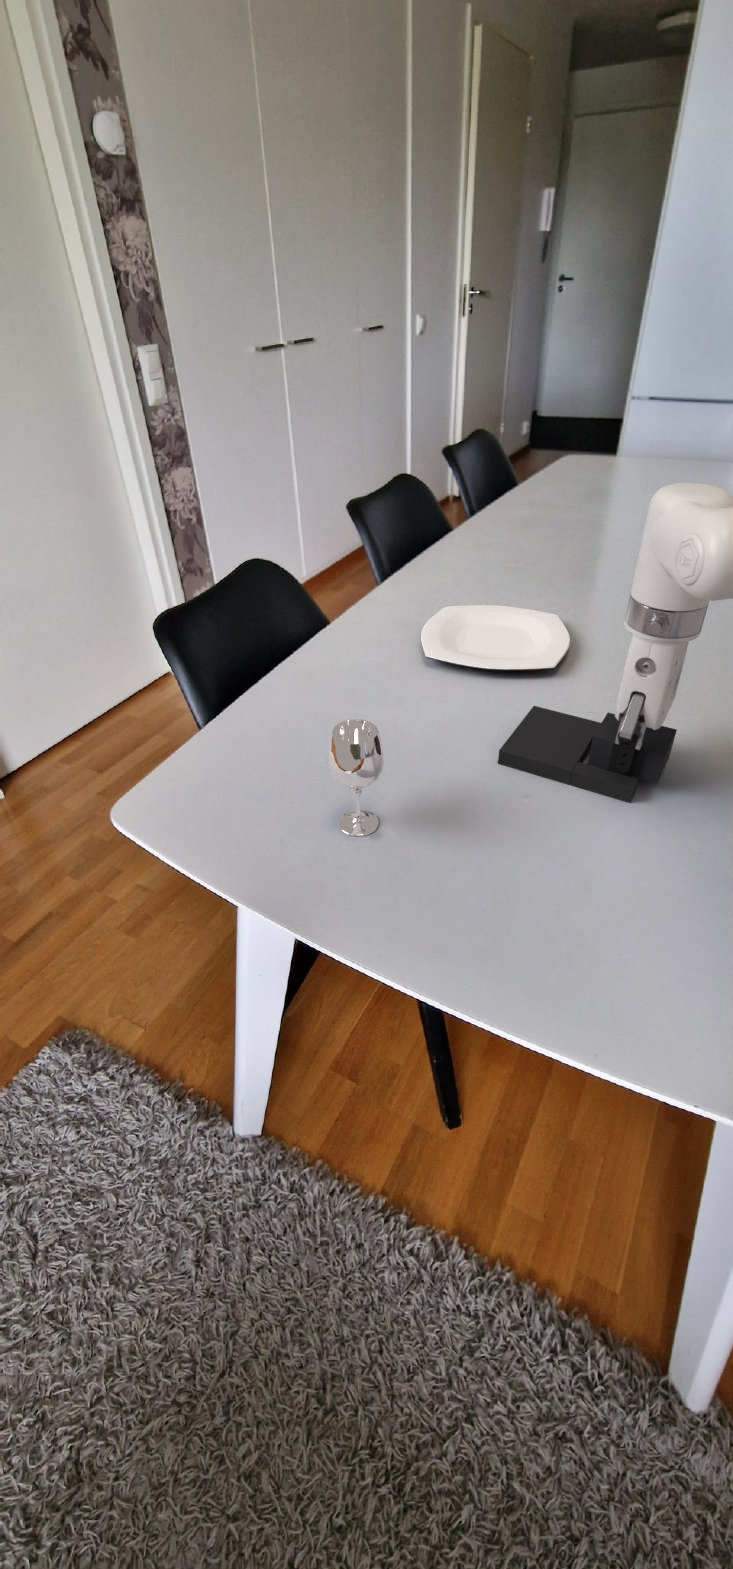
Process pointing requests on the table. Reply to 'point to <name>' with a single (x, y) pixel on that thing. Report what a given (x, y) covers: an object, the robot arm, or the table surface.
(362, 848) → the table surface
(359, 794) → the wineglass
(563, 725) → the socket pad
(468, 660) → the plate
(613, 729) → the black rectangular block
